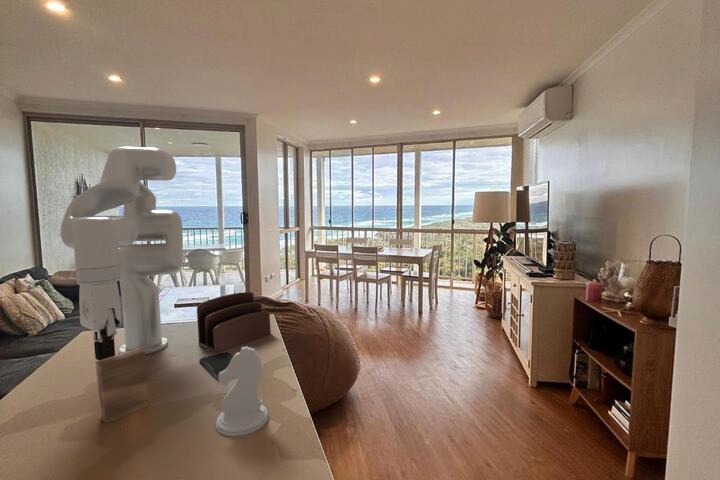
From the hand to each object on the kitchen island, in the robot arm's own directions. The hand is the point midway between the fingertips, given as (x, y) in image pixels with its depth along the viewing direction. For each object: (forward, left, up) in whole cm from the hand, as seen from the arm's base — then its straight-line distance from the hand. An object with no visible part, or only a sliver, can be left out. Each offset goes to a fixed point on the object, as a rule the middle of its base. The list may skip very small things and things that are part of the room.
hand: (105, 357), depth 78 cm
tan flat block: (+8, 0, -10) cm, 13 cm away
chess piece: (+31, +12, -10) cm, 35 cm away
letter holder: (-8, +38, -10) cm, 40 cm away
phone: (+6, +24, -11) cm, 27 cm away
